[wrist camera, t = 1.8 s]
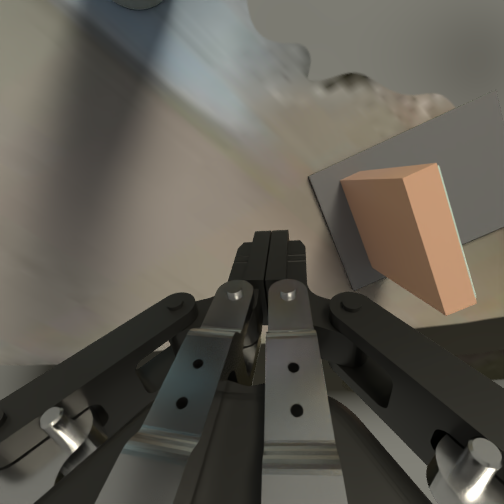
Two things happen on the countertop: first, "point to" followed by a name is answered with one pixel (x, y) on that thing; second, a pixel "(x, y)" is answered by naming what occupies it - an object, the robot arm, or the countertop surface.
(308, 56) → the countertop surface
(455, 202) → the mat
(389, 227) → the tile
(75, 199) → the countertop surface
